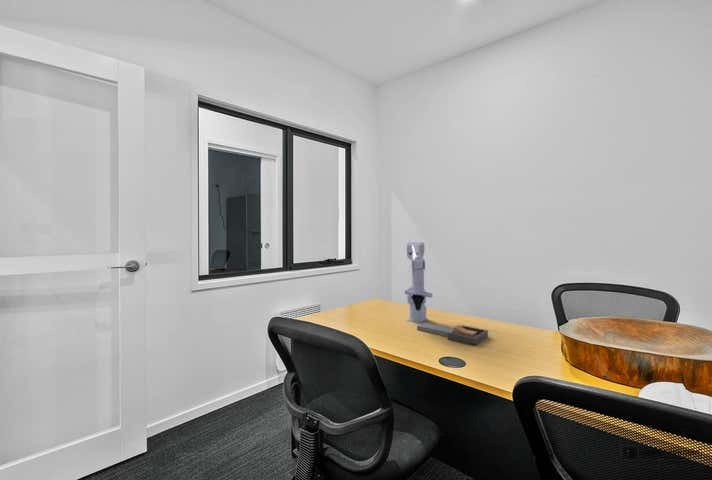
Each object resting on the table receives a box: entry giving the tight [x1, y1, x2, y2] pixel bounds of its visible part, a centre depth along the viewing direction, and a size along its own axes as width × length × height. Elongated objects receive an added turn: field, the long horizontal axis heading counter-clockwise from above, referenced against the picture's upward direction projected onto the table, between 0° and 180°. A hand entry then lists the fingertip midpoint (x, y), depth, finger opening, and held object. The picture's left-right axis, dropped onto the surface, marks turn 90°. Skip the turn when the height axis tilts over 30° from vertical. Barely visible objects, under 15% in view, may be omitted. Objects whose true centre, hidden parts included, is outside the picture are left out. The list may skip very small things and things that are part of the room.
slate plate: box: [416, 321, 455, 338], centre depth 160 cm, size 8×18×2 cm, turn 49°
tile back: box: [453, 325, 467, 335], centre depth 152 cm, size 4×4×2 cm
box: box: [447, 325, 489, 346], centre depth 150 cm, size 15×12×3 cm
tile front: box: [463, 330, 477, 338], centre depth 149 cm, size 4×4×2 cm
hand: (418, 310), depth 164 cm, fingers closed
